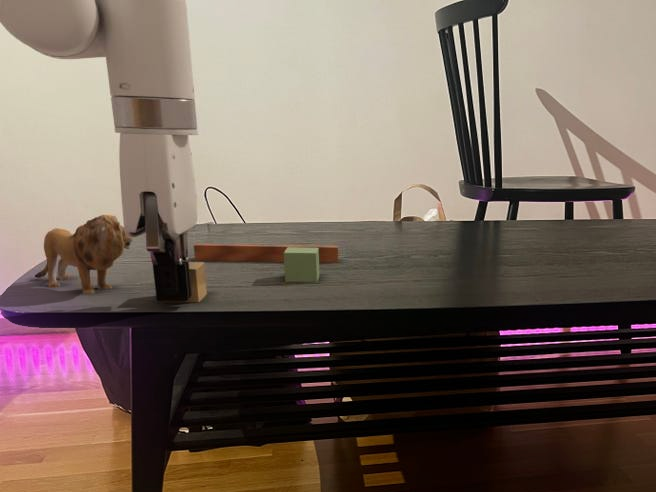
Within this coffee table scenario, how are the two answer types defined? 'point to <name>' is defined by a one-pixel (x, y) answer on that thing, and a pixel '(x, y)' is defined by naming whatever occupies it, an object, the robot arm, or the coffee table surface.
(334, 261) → the rail
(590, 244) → the coffee table surface
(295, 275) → the sage block
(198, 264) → the maple block
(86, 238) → the lion figurine
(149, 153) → the robot arm
